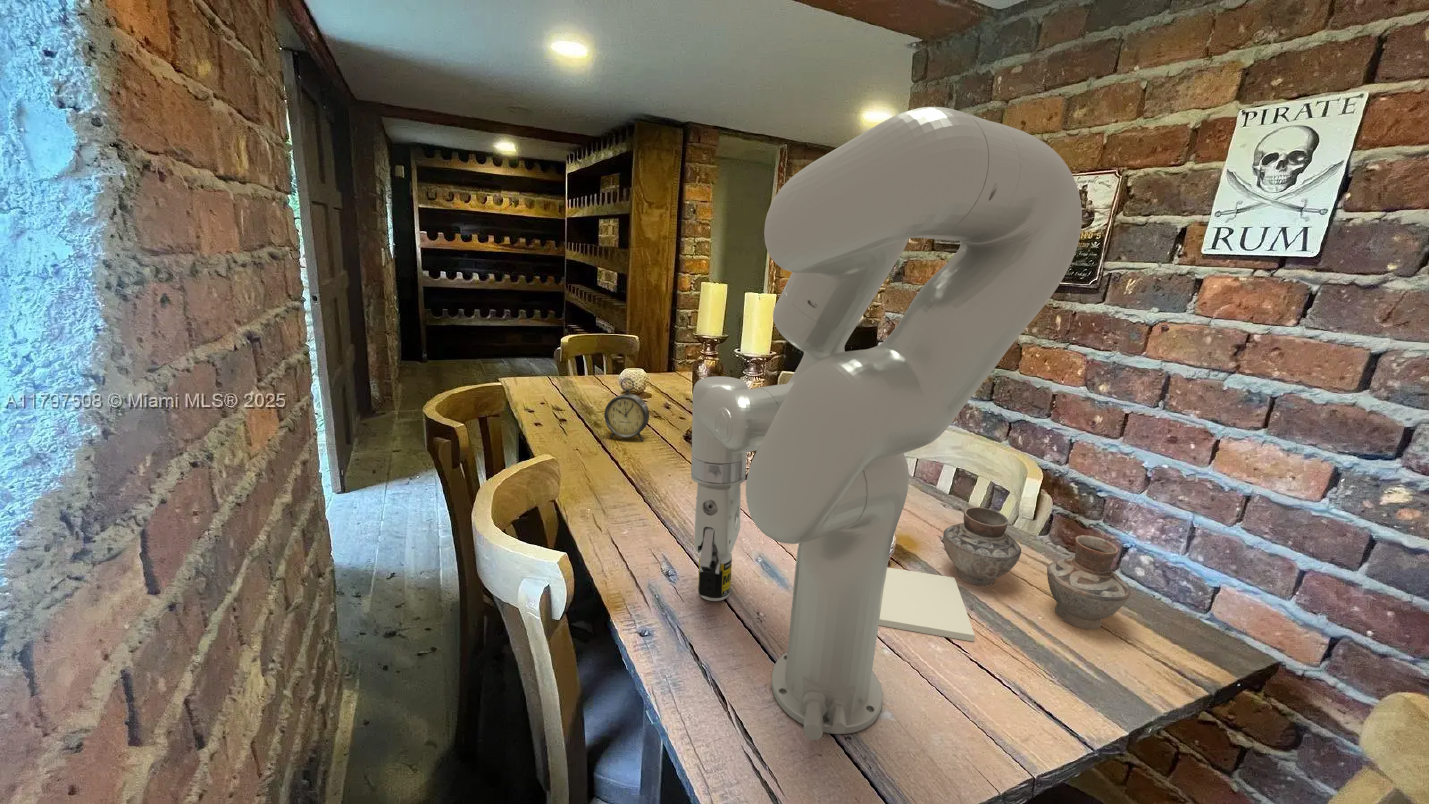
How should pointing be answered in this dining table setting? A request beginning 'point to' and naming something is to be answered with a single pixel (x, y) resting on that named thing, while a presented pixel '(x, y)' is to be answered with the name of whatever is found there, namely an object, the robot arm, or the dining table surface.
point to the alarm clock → (626, 415)
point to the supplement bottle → (726, 580)
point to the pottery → (1073, 582)
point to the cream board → (924, 605)
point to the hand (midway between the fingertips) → (714, 583)
